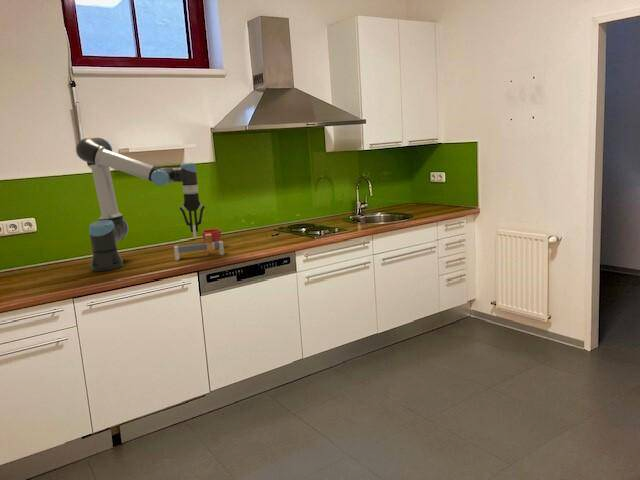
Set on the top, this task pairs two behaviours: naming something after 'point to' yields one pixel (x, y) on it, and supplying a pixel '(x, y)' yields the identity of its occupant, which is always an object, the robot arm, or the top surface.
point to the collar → (209, 243)
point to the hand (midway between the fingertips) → (195, 237)
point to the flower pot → (214, 232)
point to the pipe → (197, 248)
